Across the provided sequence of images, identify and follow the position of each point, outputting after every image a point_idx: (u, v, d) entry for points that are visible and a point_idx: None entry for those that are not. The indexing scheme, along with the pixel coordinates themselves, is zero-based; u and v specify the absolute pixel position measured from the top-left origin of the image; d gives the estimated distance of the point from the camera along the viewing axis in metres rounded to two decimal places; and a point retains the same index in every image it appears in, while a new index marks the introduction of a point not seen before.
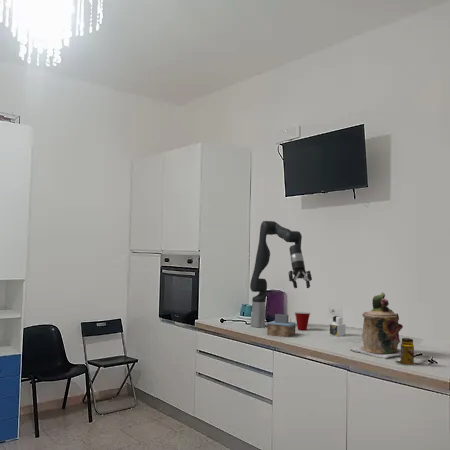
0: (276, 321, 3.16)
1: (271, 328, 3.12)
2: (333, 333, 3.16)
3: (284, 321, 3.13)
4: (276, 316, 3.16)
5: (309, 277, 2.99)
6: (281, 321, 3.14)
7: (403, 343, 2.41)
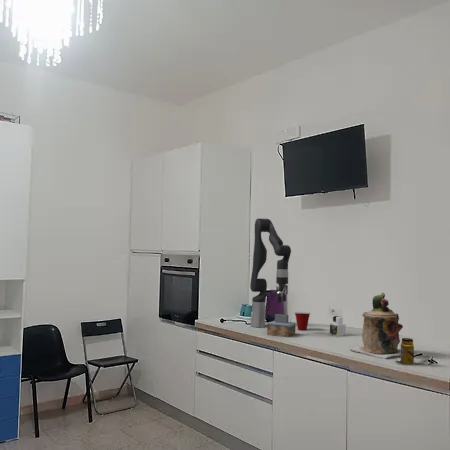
0: (276, 321, 3.16)
1: (271, 328, 3.12)
2: (333, 333, 3.16)
3: (284, 321, 3.13)
4: (276, 316, 3.16)
5: None
6: (281, 321, 3.14)
7: (403, 343, 2.41)
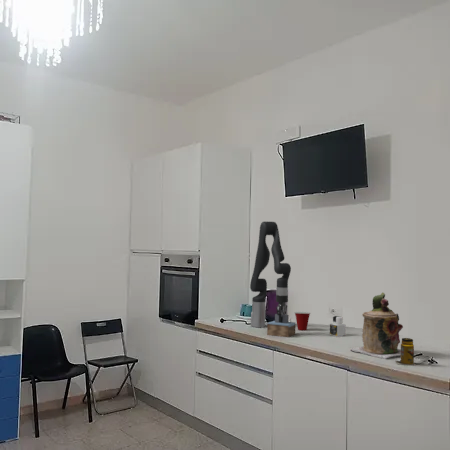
0: (276, 321, 3.16)
1: (271, 328, 3.12)
2: (333, 333, 3.16)
3: (284, 321, 3.13)
4: (276, 316, 3.16)
5: None
6: None
7: (403, 343, 2.41)
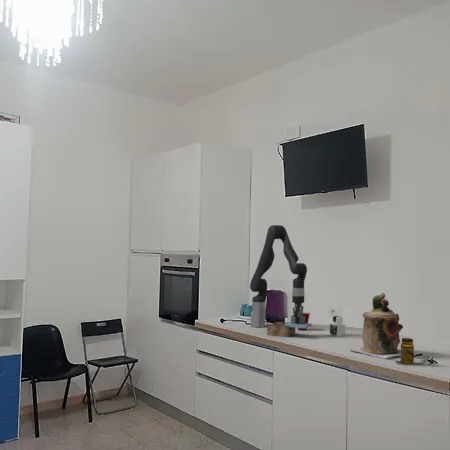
0: (292, 322, 3.11)
1: (271, 328, 3.12)
2: (333, 333, 3.16)
3: (301, 322, 3.08)
4: (292, 317, 3.11)
5: None
6: None
7: (403, 343, 2.41)
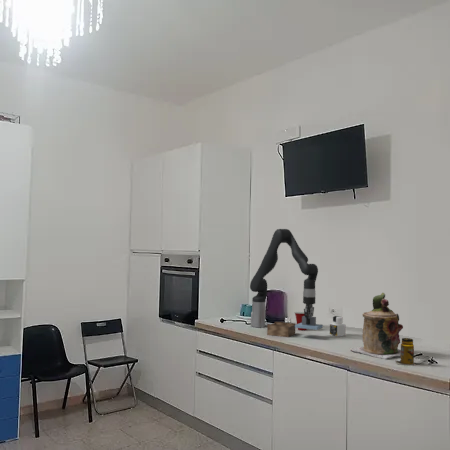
0: (303, 323, 3.08)
1: (271, 328, 3.12)
2: (333, 333, 3.16)
3: (312, 323, 3.05)
4: (303, 318, 3.08)
5: None
6: None
7: (403, 343, 2.41)
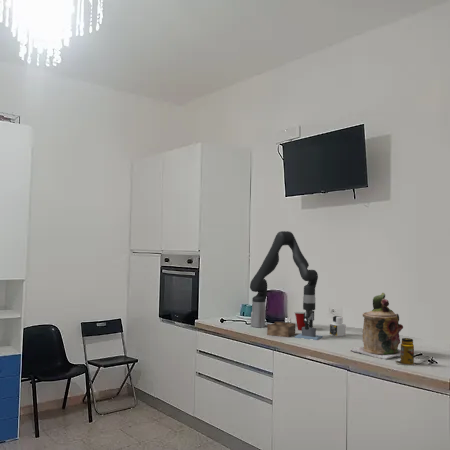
0: (303, 334, 3.07)
1: (271, 328, 3.12)
2: (333, 333, 3.16)
3: (311, 334, 3.05)
4: (303, 329, 3.08)
5: None
6: (308, 334, 3.06)
7: (403, 343, 2.41)
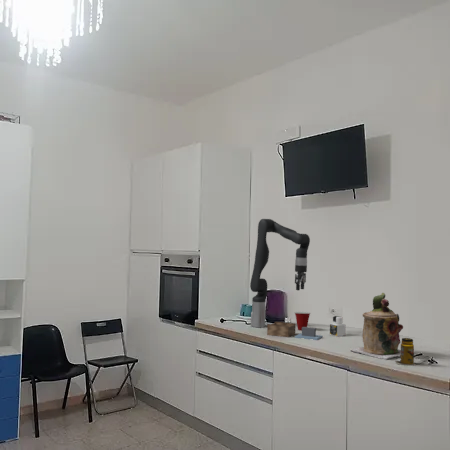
0: (303, 334, 3.07)
1: (271, 328, 3.12)
2: (333, 333, 3.16)
3: (311, 334, 3.05)
4: (303, 329, 3.08)
5: None
6: (308, 334, 3.06)
7: (403, 343, 2.41)
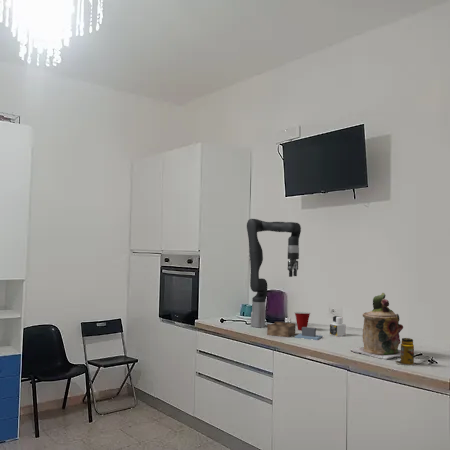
0: (303, 334, 3.07)
1: (271, 328, 3.12)
2: (333, 333, 3.16)
3: (311, 334, 3.05)
4: (303, 329, 3.08)
5: (297, 267, 3.37)
6: (308, 334, 3.06)
7: (403, 343, 2.41)
